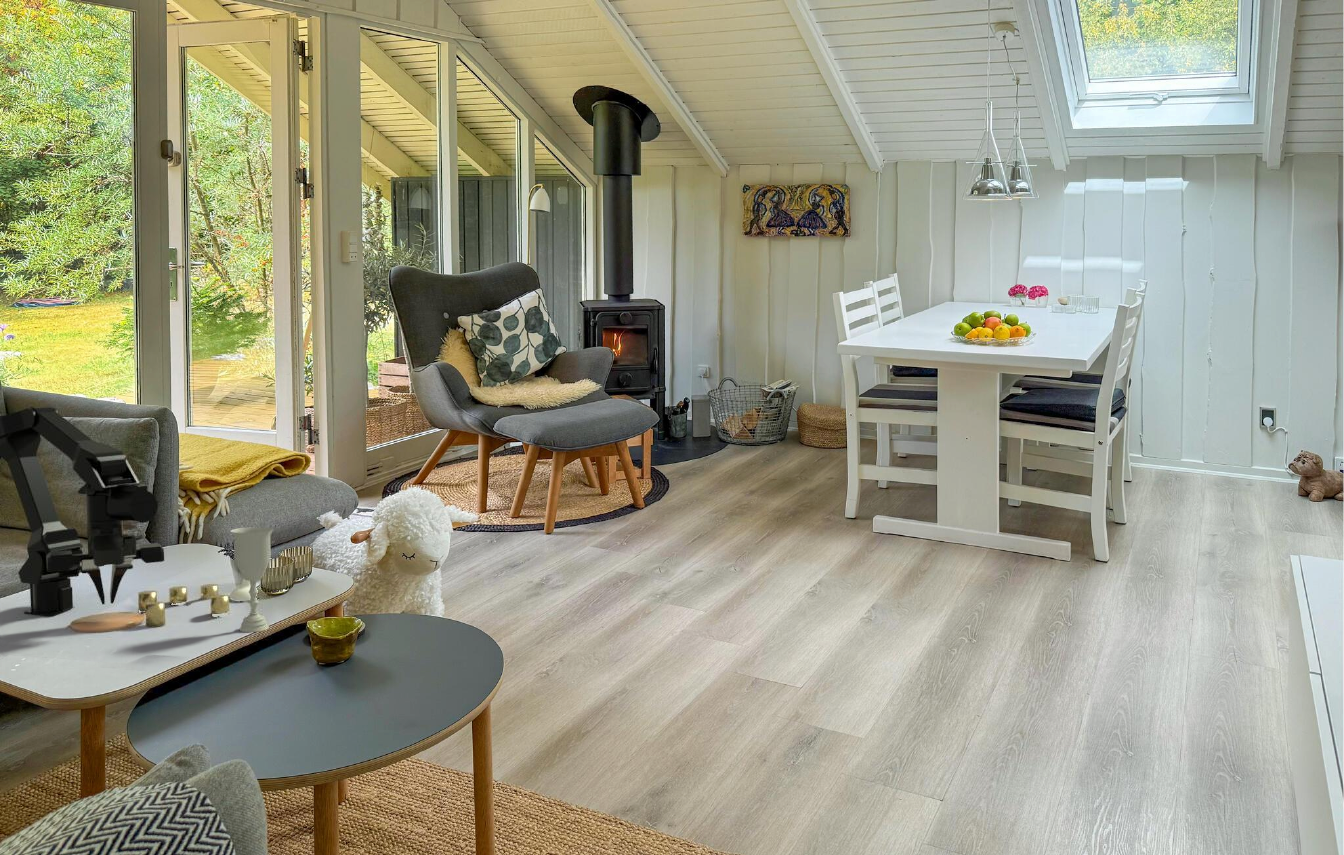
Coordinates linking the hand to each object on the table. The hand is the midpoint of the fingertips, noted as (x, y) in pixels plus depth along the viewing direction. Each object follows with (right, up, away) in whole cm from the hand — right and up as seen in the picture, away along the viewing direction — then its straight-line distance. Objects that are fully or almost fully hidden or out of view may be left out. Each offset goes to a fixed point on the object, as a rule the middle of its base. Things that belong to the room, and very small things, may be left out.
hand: (107, 603), depth 193 cm
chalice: (+28, -4, -3) cm, 28 cm away
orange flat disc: (0, -4, 0) cm, 4 cm away
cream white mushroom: (+19, -3, +15) cm, 25 cm away
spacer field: (+11, -3, +7) cm, 13 cm away
